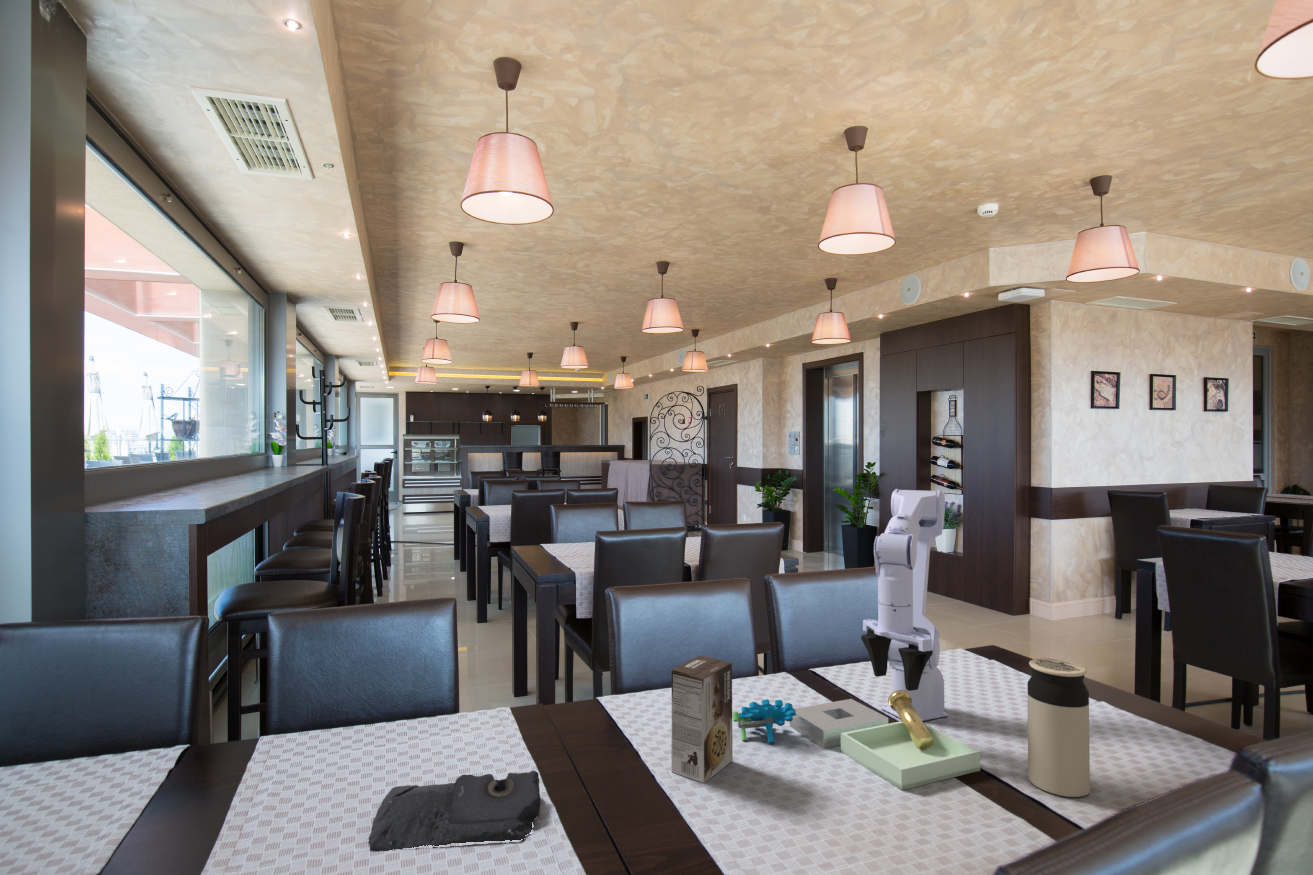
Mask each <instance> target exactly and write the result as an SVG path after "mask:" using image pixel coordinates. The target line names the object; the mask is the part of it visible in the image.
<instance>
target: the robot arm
mask: <svg viewBox="0 0 1313 875" xmlns="http://www.w3.org/2000/svg"><path fill="white" fill-rule="evenodd" d="M890 510H891V516H892V517H891V518H890V520H889V521H888V523H887V526H886V528H885V530H884V533H883V532H882V533H881V534H880V535H876V536H875V539H874V542H873V557H874V563H875V575H876V576H877V598H878V599H877V608H878V609H877V610H878V611H877V612H878V614H877V616H878V617H877V619H878V620H877V619H872V618H867V619H863V620H862V631H864V632H866V633H865V634H862V635H860V637H861V638H860V639H861V641H862V643H863V644H864V647H865V648H866V651H867V653H868V656H869V659H870V663H871V667H872V671H873V675H874V677H876V678H878V677H886V676H887V673H888V667H890V673H891V674H890V688H891V689H890V695H891V694H892V693H893V692H895V691H897V690H905V691H907V692H908V693H909V695H910V696H911V698H912V703H911V704H912V705H913V707H914V709H915V710H916V712H917V714H918V715H919V717H920V718H921V720H922V722H925V721H929V720H933V719H940V718H945V717H948V716H949V714H948V712H946V711H945V680H944V677H943V674H942V672H941V670H940V668H938V666H939V662H940V652H941V650H940V631H939V629H938V627H937V625H936V624H935V623H933V622H932V621H931V620H930V619H929V618H928V617H926V611H927V610H926V608H927V595H928V582H929V581H928V580H929V567H930V554H931V549H932V545H933V543H934V542H933V541H934V539H935V538H937V537H939V536H941V535H942V534H943V529H944V528H945V512H946V511H945V510H946V500H945V493H944V492H943V491H942V490H940V489H938V490H918V489H917V490H916V489H915V490H914V489H899V488H895V489H894V490H893V491H892V493H891V498H890ZM880 708H881V710H883V711H885V712H887V713H889V714H890V715H893V716H895V717H897V718H899V719H900V717H899V715H898V713H897V712H896V711H894V710H893V709H892V708H891V707H890V705H889V704H886V705H885V704H884V705H881V707H880Z"/></svg>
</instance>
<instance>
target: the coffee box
mask: <svg viewBox="0 0 1313 875" xmlns="http://www.w3.org/2000/svg"><path fill="white" fill-rule="evenodd" d="M670 757H671V773H674V774H675V775H676V774H677V775H680V776H683V777H685V778H688V779H691V780H693V781H697V782H699V783H703V784H705V783H706V782H707V781H709V780H710V779H712V778H713V776H715V775H717V774H718V773H719V772H720V771H721V770H723V769H724V768H726V767H727V765H729V764H730V763H731V762H732V761H733V760H734V759H733V758H734V756H733V662H731V661H725V660H721V659H718V658H715V657H712V656H711V657H710V656H705V655H698V656H696V657H693V659H690V660H689V661H686V662H685V663H682V664H679V665H678V666H676V667H674V668H673V669H671V756H670Z"/></svg>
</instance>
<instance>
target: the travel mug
mask: <svg viewBox="0 0 1313 875" xmlns="http://www.w3.org/2000/svg"><path fill="white" fill-rule="evenodd" d="M1028 664H1029V666H1030V668H1031V674H1032V675H1031V676H1030V677H1029V679H1028V681H1027V764H1028V765H1027V772H1028V773H1027V777H1028V780H1029V781H1030V783H1032V784H1033V785H1034V786H1036V787H1037V788H1039V789H1040V790H1043V791H1045V792H1047V793H1049V794H1052V795H1056V796H1059V797H1064V798H1067V797H1068V798H1079V797H1084V796H1086V795H1089V794H1090V792H1091V778H1090V775H1091V772H1090V771H1091V768H1090V767H1091V765H1090V764H1091V762H1090V757H1091V756H1090V753H1091V752H1090V751H1091V750H1090V694H1089V693H1090V691H1089V690H1088V688H1087V686H1086V684H1085V683H1084V680H1085V679H1084V678H1085V676H1086V674H1087V672H1088V671H1087V669H1086V668H1085V667H1084V666H1083V665H1081V664H1079V663H1075V662H1072V661H1069V660H1063V659H1058V658H1047V657H1043V658H1041V657H1040V658H1033V659H1031V660H1030V661H1029V662H1028Z"/></svg>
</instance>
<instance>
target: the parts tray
mask: <svg viewBox="0 0 1313 875" xmlns="http://www.w3.org/2000/svg"><path fill="white" fill-rule="evenodd" d="M924 725H925V727H926V728H927V730H928V732H929V733H930V735H931V737H932V738H933V744H932V746H931V747H930V748H928V749H925V750H920V749H918V748H917V747H916V745H915V744H914V742H913V740H912V738H911V736H910V735H909V733H908V731H907V729H906V728H905V726H904V724H903V722H902V721H901V720H900V721H896V722H890V723H888V724H885V725H880V726H875V727H870V728H865V729H859V730H854V731H849V732H844V733H841V745H840V752H841V753H843V754H844V755H846V756H847V757H849V758H850V759H852V760H854V761H855V762H857V763H858V764H859V765H861V766H863V767H864V768H866V769H867V770H869V771H871V772H872V773H874V774H875V775H877V776H879V777H880V778H881V779H884V780H885V781H886V782H888V783H890V784H891V785H892V786H894V787H896V788H897V789H898V790H901V791H904V790H908V789H912V788H915V787H919V786H924V785H928V784H932V783H935V782H939V781H940V782H941V781H944V780H949V779H952V778H956V777H959V776H960V777H961V776H963V775H967V774H972V773H977V772H980V771H981V751H980V750H978V749H976V748H975V747H972V746H970V745H968V744H966V743H964V742H962V741H960V740H958V739H956V738H954V737H952V736H950V735H948V734H946V733H944V732H942V731H939V730H938V729H936V728H934V727H932V726H930V725H927V724H926V723H924Z"/></svg>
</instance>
